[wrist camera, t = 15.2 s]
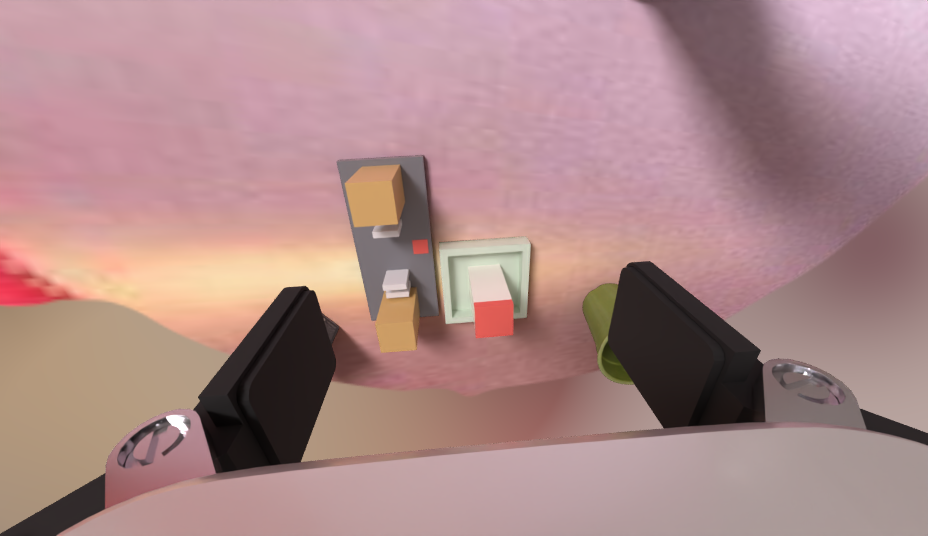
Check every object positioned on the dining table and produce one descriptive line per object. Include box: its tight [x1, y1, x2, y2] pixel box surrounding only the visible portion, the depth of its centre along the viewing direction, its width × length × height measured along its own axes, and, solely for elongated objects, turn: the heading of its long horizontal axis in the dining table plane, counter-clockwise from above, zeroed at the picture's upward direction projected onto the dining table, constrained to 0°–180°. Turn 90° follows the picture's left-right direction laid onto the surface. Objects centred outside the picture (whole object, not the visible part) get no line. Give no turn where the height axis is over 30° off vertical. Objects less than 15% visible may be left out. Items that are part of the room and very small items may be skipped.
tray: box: [439, 236, 531, 324], centre depth 47 cm, size 12×12×2 cm
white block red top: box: [468, 264, 514, 338], centre depth 43 cm, size 4×4×10 cm
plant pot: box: [583, 284, 634, 385], centre depth 47 cm, size 12×12×11 cm
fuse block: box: [337, 155, 439, 353], centre depth 41 cm, size 10×23×9 cm, turn 3°
